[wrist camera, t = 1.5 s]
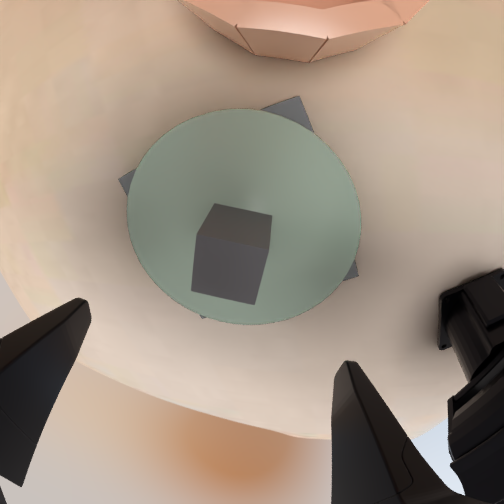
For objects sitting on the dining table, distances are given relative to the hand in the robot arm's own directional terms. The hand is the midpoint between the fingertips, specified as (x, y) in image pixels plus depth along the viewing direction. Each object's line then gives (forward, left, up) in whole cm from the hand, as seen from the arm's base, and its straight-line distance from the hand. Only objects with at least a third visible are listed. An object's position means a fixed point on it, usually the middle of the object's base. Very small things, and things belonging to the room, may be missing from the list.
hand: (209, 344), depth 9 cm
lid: (0, 0, -9) cm, 9 cm away
